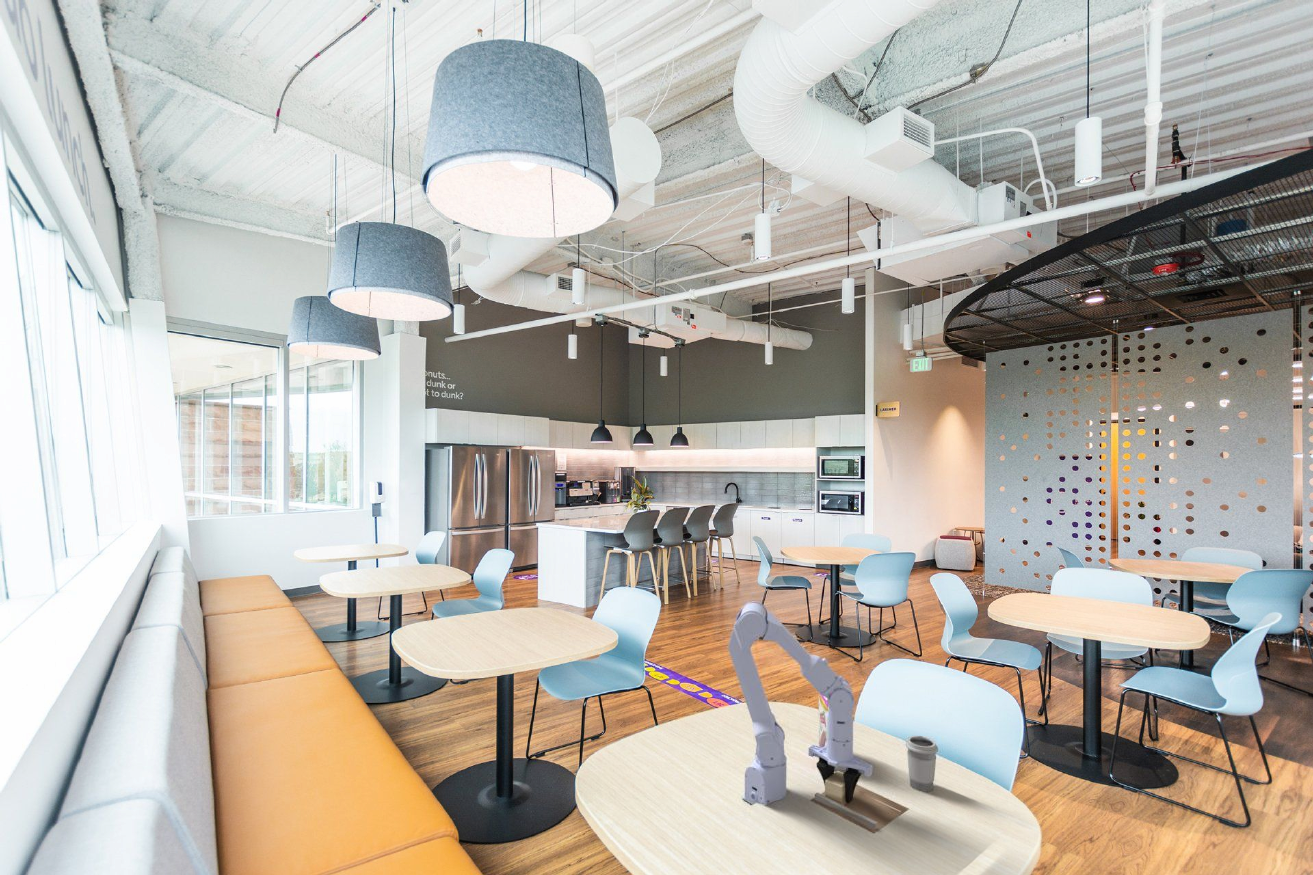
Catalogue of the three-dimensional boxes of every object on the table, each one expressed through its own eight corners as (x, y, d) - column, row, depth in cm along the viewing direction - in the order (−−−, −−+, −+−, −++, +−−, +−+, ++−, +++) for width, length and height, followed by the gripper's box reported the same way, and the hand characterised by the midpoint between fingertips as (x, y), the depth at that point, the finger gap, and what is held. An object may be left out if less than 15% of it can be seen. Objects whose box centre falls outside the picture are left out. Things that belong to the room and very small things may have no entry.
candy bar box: (817, 754, 172) (817, 691, 172) (836, 754, 172) (837, 691, 172) (827, 776, 161) (828, 709, 161) (848, 776, 161) (848, 709, 161)
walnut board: (873, 840, 135) (873, 827, 135) (809, 806, 148) (809, 794, 148) (909, 815, 144) (909, 803, 144) (845, 785, 157) (845, 774, 157)
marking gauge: (841, 807, 145) (841, 786, 145) (824, 800, 147) (825, 780, 147) (862, 788, 152) (862, 768, 152) (845, 782, 155) (846, 763, 155)
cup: (935, 787, 156) (936, 736, 156) (939, 802, 150) (940, 749, 150) (903, 783, 158) (904, 733, 158) (906, 797, 152) (906, 745, 152)
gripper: (802, 732, 150) (801, 792, 150) (863, 753, 140) (862, 816, 140) (816, 722, 155) (816, 780, 155) (876, 741, 146) (876, 803, 146)
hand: (839, 796), depth 148 cm, fingers closed on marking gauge, 4 cm apart
